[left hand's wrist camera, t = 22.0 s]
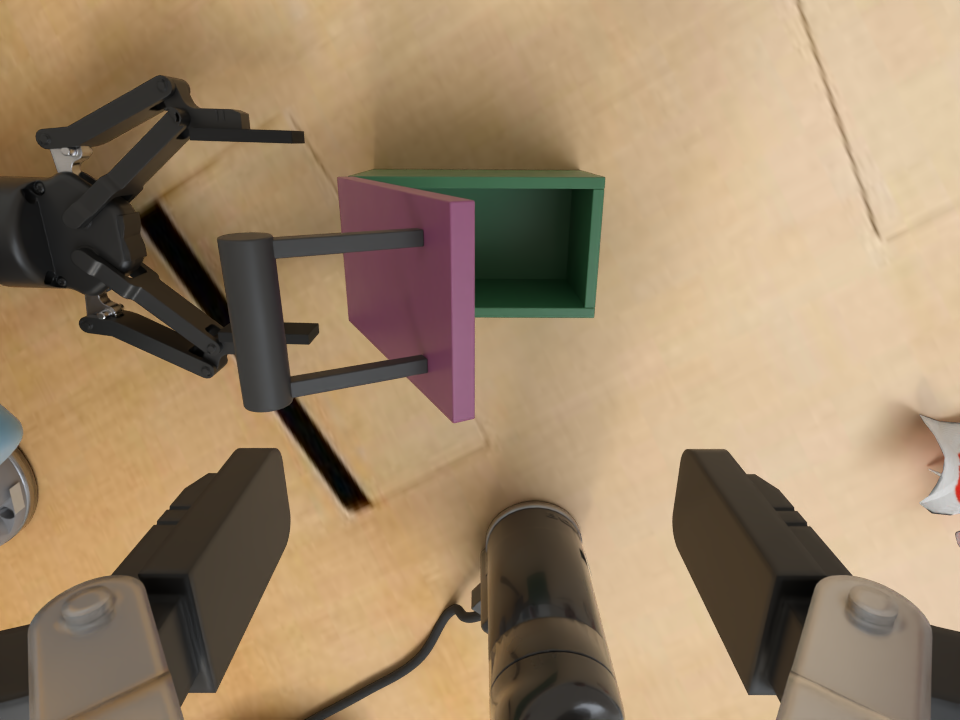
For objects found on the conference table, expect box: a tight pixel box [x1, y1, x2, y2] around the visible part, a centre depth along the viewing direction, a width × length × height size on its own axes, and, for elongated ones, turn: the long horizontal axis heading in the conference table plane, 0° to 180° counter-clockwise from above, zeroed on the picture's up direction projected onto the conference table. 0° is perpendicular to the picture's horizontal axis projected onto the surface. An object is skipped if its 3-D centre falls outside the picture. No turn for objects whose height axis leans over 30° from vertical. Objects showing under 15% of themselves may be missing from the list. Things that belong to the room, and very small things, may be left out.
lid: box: [217, 177, 475, 423], centre depth 28 cm, size 17×9×9 cm
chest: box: [348, 169, 605, 318], centre depth 41 cm, size 16×9×9 cm, turn 90°
